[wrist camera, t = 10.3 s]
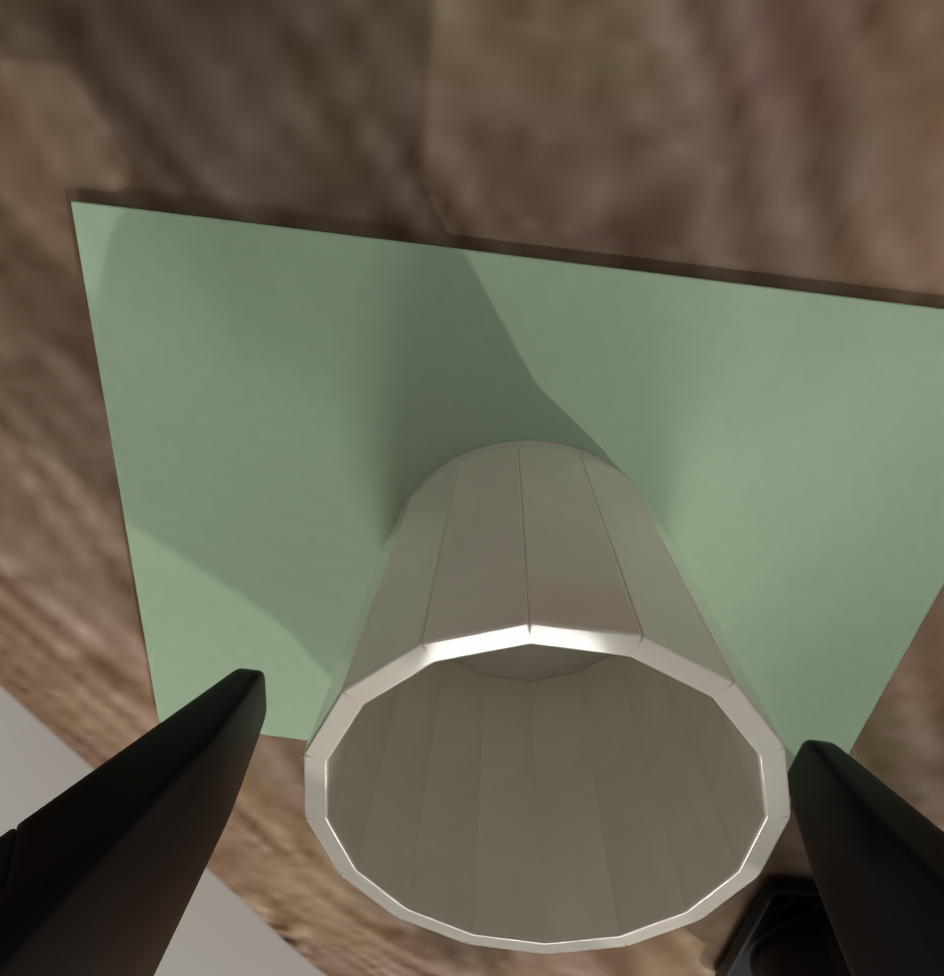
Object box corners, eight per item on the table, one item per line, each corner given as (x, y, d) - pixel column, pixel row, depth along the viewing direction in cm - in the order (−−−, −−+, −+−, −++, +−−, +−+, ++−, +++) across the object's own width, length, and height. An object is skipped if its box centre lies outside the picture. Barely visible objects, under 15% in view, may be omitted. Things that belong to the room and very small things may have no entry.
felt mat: (815, 796, 17) (819, 805, 17) (163, 713, 17) (158, 721, 17) (1074, 324, 11) (1088, 327, 11) (80, 201, 11) (69, 200, 11)
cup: (627, 686, 15) (707, 975, 9) (384, 655, 15) (306, 924, 9) (696, 459, 12) (874, 664, 6) (397, 421, 12) (299, 592, 6)
